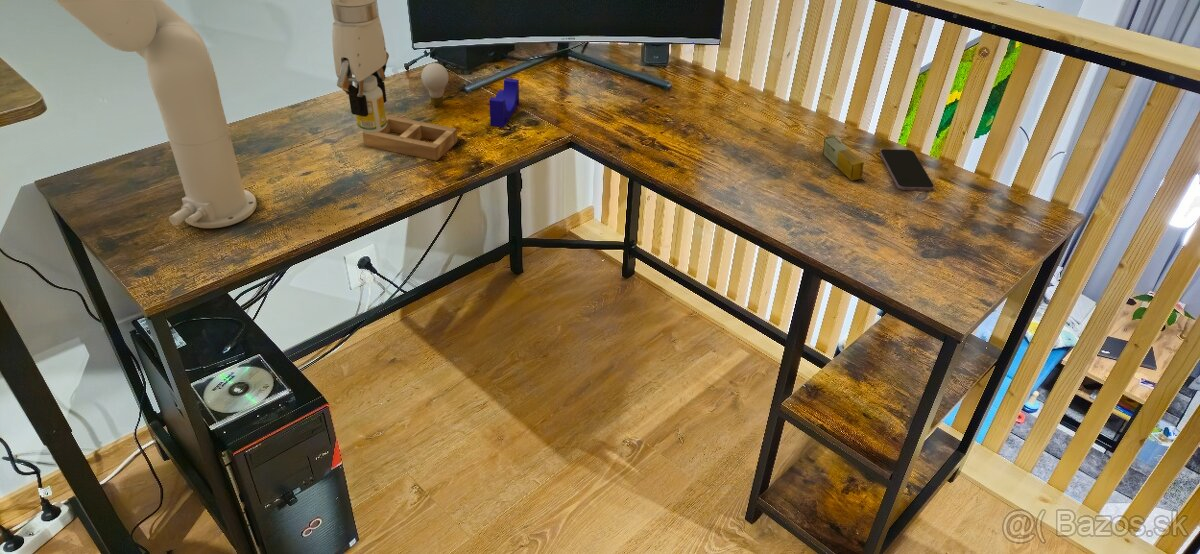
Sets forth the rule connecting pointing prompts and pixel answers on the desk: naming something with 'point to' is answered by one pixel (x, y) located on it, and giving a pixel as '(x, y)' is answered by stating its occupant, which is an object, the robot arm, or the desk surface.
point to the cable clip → (504, 103)
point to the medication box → (843, 158)
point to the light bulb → (435, 82)
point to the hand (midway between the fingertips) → (369, 107)
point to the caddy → (413, 138)
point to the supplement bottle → (372, 107)
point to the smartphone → (906, 170)
